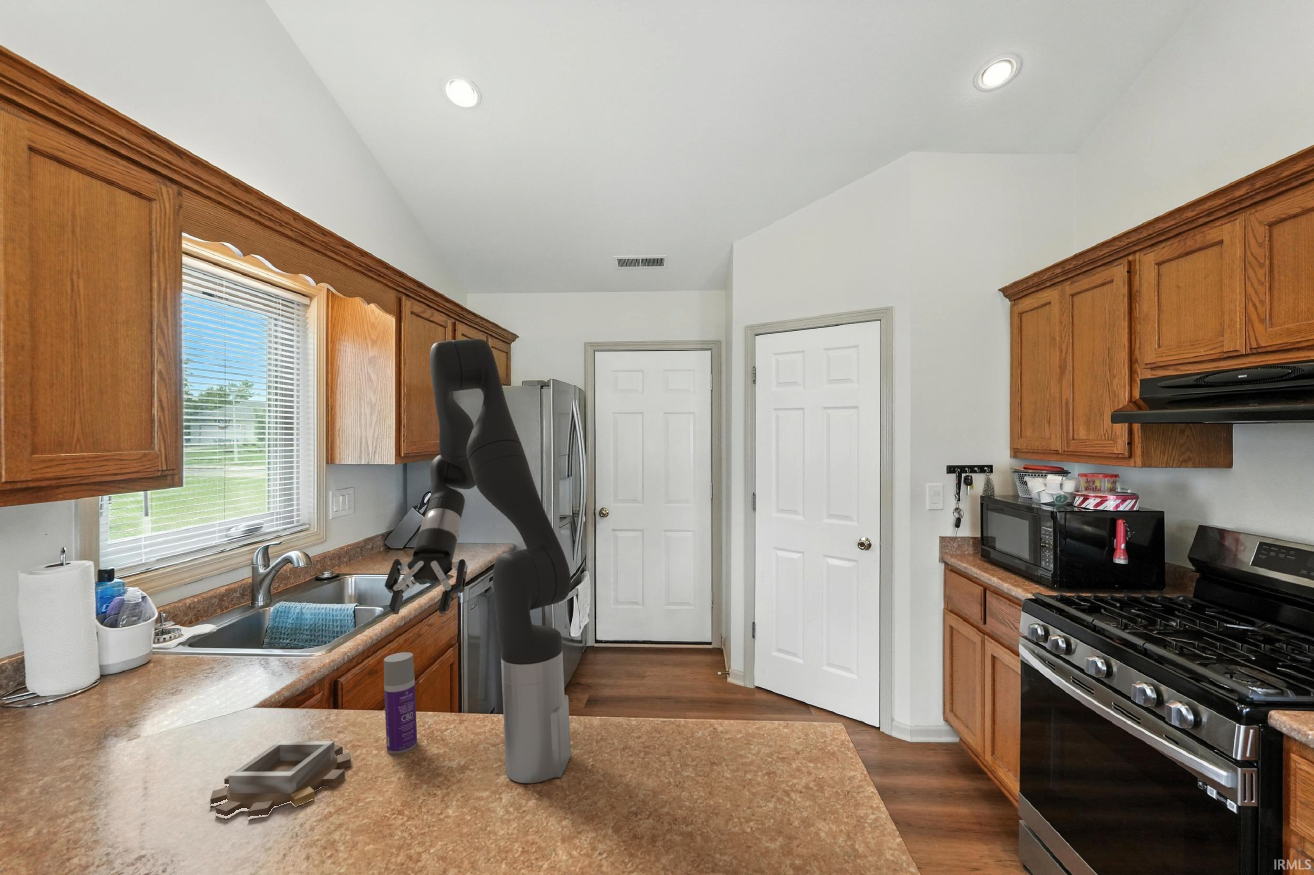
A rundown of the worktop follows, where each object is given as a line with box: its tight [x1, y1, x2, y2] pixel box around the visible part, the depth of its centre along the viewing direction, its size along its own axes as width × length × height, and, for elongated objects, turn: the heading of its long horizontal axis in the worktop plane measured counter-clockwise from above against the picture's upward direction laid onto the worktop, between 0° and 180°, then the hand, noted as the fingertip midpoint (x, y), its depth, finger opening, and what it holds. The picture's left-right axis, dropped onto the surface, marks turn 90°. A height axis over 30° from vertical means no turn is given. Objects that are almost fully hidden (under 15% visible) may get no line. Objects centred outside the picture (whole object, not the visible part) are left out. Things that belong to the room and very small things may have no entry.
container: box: [383, 651, 418, 755], centre depth 95 cm, size 5×5×15 cm
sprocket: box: [209, 740, 352, 818], centre depth 86 cm, size 18×18×4 cm
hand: (418, 612), depth 104 cm, fingers open, 8 cm apart
